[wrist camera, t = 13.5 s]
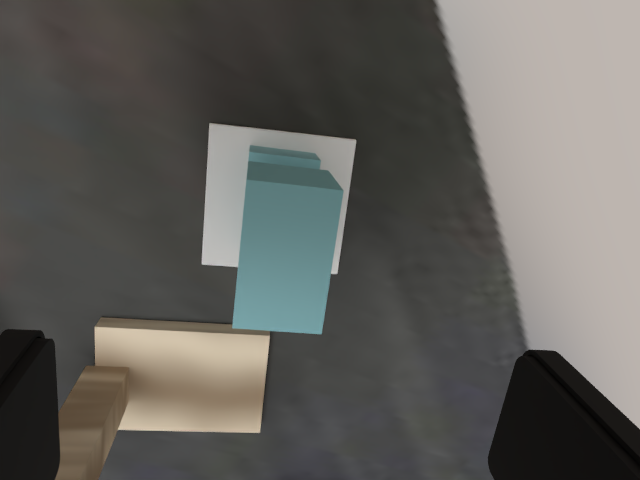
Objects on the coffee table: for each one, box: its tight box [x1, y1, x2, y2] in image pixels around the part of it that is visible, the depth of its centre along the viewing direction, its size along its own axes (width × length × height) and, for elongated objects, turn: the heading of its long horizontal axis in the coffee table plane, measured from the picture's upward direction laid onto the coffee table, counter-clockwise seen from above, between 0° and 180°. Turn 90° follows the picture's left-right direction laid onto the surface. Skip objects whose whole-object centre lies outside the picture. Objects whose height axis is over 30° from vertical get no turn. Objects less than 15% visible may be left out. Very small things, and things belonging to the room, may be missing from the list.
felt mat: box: [202, 123, 356, 274], centre depth 28 cm, size 8×8×1 cm
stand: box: [55, 317, 270, 480], centre depth 26 cm, size 7×11×12 cm, turn 83°
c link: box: [232, 145, 344, 334], centre depth 24 cm, size 6×4×10 cm, turn 172°
